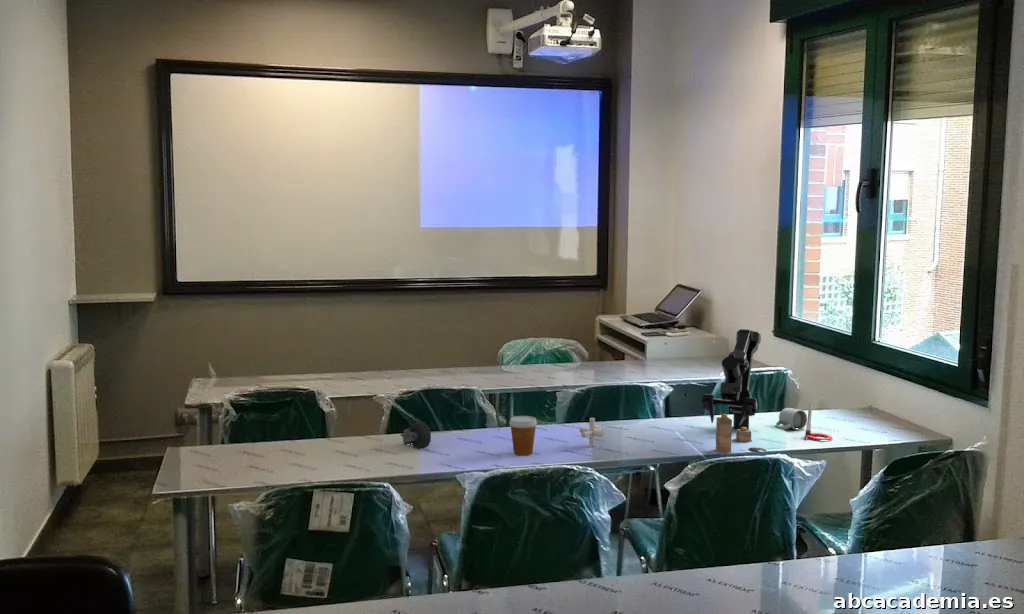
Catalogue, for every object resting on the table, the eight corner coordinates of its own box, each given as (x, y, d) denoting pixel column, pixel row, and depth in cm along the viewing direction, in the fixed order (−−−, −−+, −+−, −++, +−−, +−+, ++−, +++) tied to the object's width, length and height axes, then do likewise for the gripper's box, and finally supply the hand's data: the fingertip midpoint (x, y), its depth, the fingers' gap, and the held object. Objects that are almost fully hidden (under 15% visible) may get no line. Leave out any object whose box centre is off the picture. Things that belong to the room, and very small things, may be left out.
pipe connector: (571, 446, 310) (572, 418, 309) (589, 441, 317) (589, 413, 316) (594, 451, 303) (594, 423, 302) (611, 446, 310) (612, 418, 309)
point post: (715, 451, 304) (716, 413, 302) (726, 451, 304) (727, 412, 302) (719, 454, 300) (720, 415, 298) (730, 454, 300) (732, 415, 298)
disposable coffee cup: (505, 451, 304) (504, 417, 303) (530, 448, 308) (530, 414, 307) (516, 458, 296) (516, 423, 294) (541, 455, 299) (541, 420, 298)
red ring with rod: (833, 438, 323) (806, 434, 326) (836, 403, 321) (809, 400, 325) (831, 444, 315) (803, 439, 319) (834, 408, 313) (807, 405, 317)
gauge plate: (724, 439, 319) (724, 437, 319) (754, 438, 320) (754, 436, 320) (745, 455, 298) (745, 453, 298) (777, 454, 300) (777, 452, 300)
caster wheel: (433, 451, 308) (407, 439, 318) (434, 425, 306) (409, 413, 317) (420, 454, 304) (394, 442, 315) (421, 427, 302) (396, 416, 313)
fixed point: (736, 438, 318) (736, 426, 317) (746, 438, 318) (747, 426, 317) (740, 441, 314) (740, 429, 313) (751, 441, 314) (751, 428, 313)
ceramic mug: (791, 424, 341) (791, 404, 340) (807, 429, 334) (807, 409, 333) (770, 427, 336) (770, 408, 336) (786, 432, 329) (786, 412, 328)
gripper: (702, 371, 310) (695, 408, 301) (757, 375, 302) (751, 413, 293) (706, 389, 318) (699, 425, 309) (760, 393, 310) (754, 431, 301)
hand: (725, 423), depth 303 cm, fingers open, 9 cm apart
